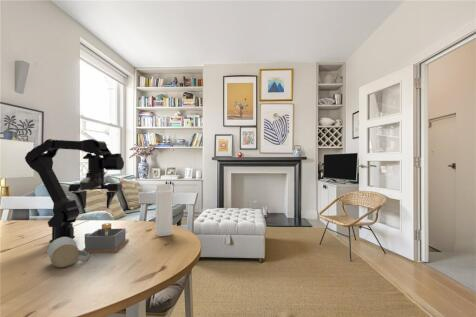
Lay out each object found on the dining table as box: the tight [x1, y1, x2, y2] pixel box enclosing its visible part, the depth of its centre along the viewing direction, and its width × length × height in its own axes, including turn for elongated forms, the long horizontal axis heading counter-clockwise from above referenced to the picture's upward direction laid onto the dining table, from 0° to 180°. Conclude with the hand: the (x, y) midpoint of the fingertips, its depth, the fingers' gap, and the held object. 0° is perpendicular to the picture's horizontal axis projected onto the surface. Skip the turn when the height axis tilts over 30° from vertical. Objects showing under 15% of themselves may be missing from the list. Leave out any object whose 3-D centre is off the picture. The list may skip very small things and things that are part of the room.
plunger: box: [101, 222, 112, 236], centre depth 92 cm, size 8×8×7 cm
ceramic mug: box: [47, 237, 90, 269], centre depth 78 cm, size 11×8×8 cm
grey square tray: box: [80, 227, 130, 254], centre depth 92 cm, size 14×12×6 cm
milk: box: [155, 183, 173, 238], centre depth 109 cm, size 6×6×22 cm
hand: (96, 208), depth 100 cm, fingers open, 9 cm apart
